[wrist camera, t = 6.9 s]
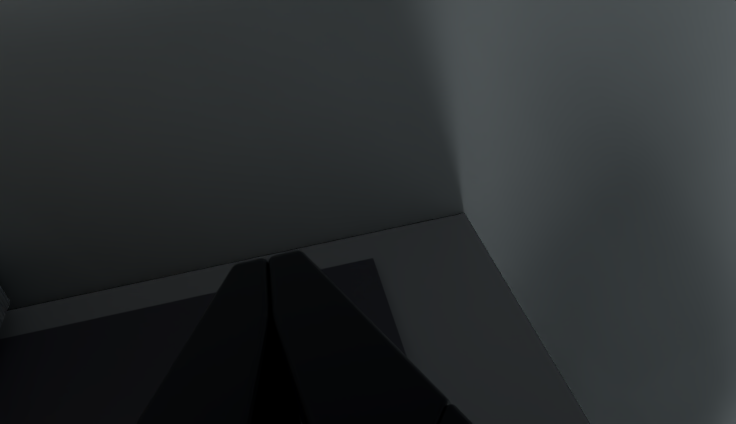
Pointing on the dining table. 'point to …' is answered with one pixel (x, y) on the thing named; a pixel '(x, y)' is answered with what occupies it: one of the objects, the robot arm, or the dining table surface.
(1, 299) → the orange and silver box
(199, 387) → the robot arm
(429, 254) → the camera housing
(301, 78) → the dining table surface
